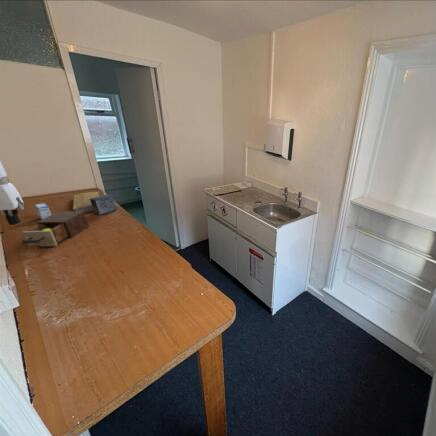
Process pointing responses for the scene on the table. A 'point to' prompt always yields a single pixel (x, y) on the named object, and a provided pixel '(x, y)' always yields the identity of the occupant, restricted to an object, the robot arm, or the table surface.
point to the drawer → (45, 234)
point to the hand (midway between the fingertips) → (15, 223)
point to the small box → (103, 204)
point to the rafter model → (84, 201)
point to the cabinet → (68, 221)
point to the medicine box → (43, 210)
